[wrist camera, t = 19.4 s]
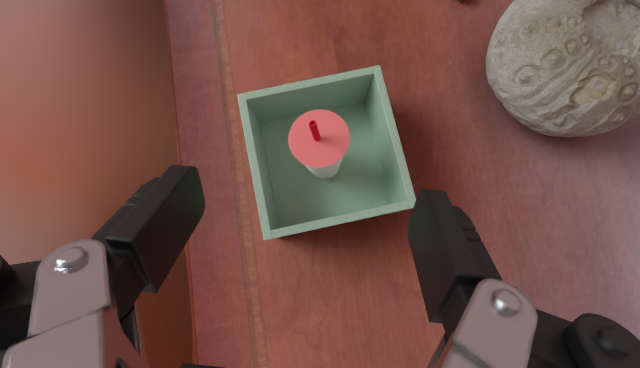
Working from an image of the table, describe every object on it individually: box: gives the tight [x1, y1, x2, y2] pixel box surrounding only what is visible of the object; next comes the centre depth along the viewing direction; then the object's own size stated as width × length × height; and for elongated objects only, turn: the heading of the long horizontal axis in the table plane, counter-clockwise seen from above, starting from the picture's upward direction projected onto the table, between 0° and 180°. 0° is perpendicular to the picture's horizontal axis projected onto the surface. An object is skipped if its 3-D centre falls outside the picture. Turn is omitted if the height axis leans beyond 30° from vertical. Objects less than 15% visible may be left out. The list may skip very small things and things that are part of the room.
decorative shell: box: [486, 0, 640, 137], centre depth 31 cm, size 18×18×10 cm
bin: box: [237, 65, 416, 241], centre depth 31 cm, size 15×15×7 cm
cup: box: [288, 109, 350, 179], centre depth 27 cm, size 5×5×12 cm
